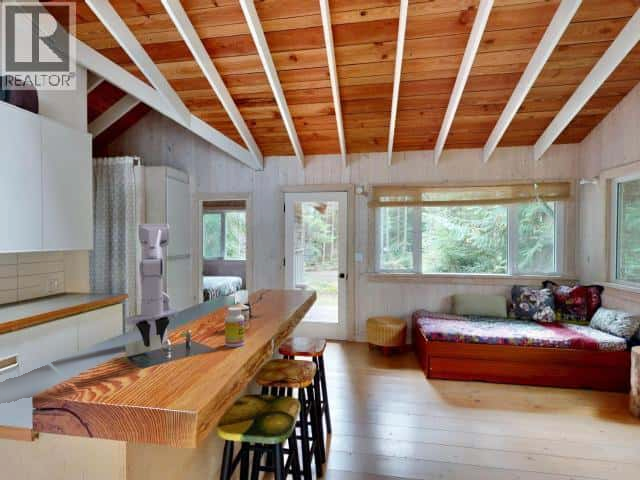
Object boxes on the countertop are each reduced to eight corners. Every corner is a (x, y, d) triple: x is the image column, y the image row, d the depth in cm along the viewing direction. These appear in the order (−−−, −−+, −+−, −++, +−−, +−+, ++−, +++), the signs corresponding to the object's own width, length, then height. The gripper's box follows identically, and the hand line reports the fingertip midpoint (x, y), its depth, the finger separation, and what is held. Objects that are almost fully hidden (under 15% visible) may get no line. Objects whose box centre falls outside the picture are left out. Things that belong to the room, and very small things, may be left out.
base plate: (121, 358, 112) (121, 356, 112) (192, 342, 130) (192, 340, 130) (142, 370, 101) (142, 368, 101) (217, 350, 119) (217, 349, 119)
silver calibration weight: (161, 351, 119) (161, 340, 119) (168, 349, 121) (168, 339, 121) (164, 352, 118) (164, 341, 118) (172, 350, 120) (171, 340, 120)
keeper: (180, 352, 117) (180, 334, 117) (186, 347, 123) (186, 329, 123) (185, 352, 117) (185, 333, 117) (191, 347, 123) (191, 329, 124)
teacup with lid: (246, 331, 145) (246, 303, 145) (224, 331, 145) (224, 303, 145) (253, 324, 156) (253, 298, 157) (233, 325, 157) (233, 298, 157)
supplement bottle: (239, 348, 122) (239, 310, 122) (222, 347, 123) (221, 310, 123) (247, 342, 128) (246, 307, 128) (230, 341, 129) (230, 306, 130)
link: (126, 356, 112) (125, 344, 113) (146, 352, 117) (144, 340, 117) (146, 351, 102) (144, 337, 103) (166, 346, 106) (164, 333, 107)
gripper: (131, 304, 98) (132, 353, 98) (182, 297, 108) (182, 341, 108) (122, 301, 102) (123, 348, 102) (171, 295, 113) (172, 337, 113)
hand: (153, 344), depth 106 cm, fingers closed on link, 3 cm apart
